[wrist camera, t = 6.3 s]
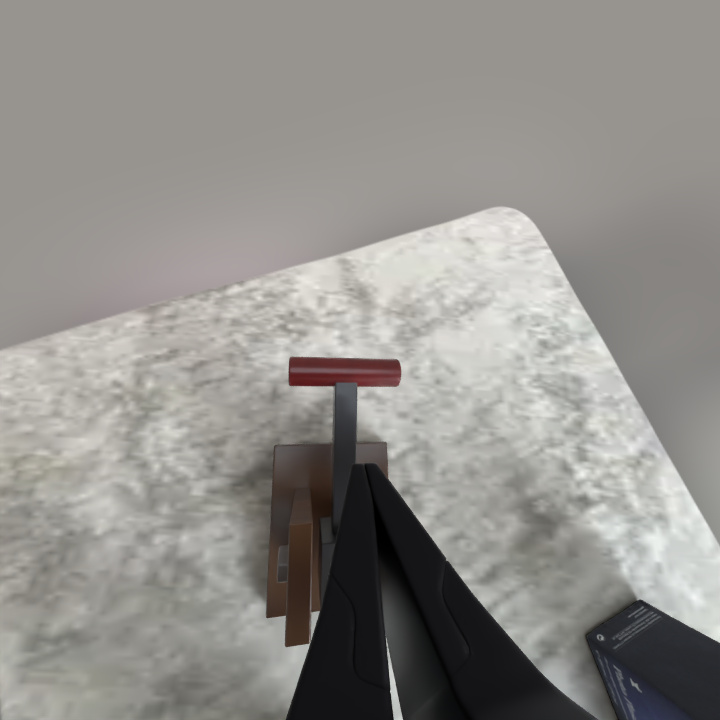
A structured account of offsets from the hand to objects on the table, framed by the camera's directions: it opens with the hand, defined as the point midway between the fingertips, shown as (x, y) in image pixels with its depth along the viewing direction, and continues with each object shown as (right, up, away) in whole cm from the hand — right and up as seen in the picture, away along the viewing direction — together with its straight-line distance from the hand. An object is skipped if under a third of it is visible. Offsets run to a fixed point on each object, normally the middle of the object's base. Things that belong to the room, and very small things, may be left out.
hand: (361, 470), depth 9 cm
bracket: (-2, -7, +10) cm, 13 cm away
